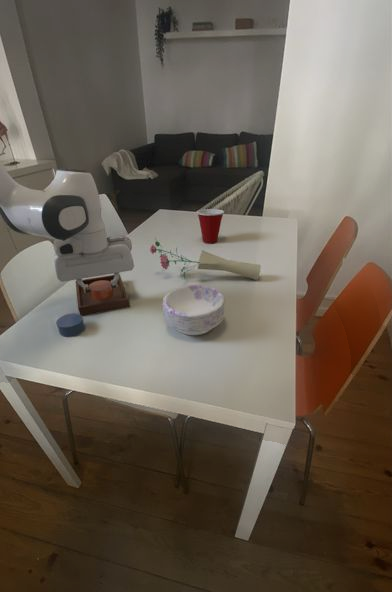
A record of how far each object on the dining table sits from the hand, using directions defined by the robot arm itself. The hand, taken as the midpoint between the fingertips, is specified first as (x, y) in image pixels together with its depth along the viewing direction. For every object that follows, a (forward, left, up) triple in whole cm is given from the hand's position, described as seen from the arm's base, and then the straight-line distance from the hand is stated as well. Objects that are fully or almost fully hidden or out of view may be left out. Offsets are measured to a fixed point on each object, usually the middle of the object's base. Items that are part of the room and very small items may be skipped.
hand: (100, 289), depth 89 cm
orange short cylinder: (0, 0, -2) cm, 2 cm away
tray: (0, +4, -4) cm, 6 cm away
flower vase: (+33, +5, -5) cm, 34 cm away
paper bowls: (+21, -20, -5) cm, 29 cm away
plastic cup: (+47, +37, -5) cm, 60 cm away
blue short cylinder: (-9, -11, -4) cm, 15 cm away
